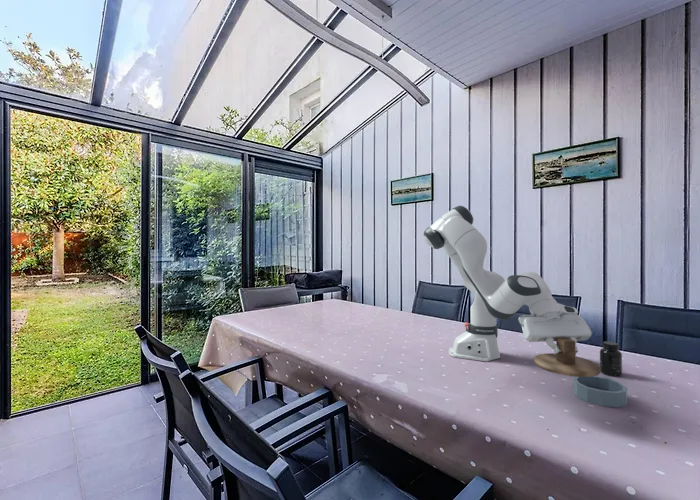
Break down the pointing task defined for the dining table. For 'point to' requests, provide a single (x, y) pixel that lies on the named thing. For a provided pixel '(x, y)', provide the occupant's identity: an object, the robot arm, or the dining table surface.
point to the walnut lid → (567, 361)
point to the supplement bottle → (611, 359)
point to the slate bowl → (600, 391)
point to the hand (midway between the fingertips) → (567, 352)
